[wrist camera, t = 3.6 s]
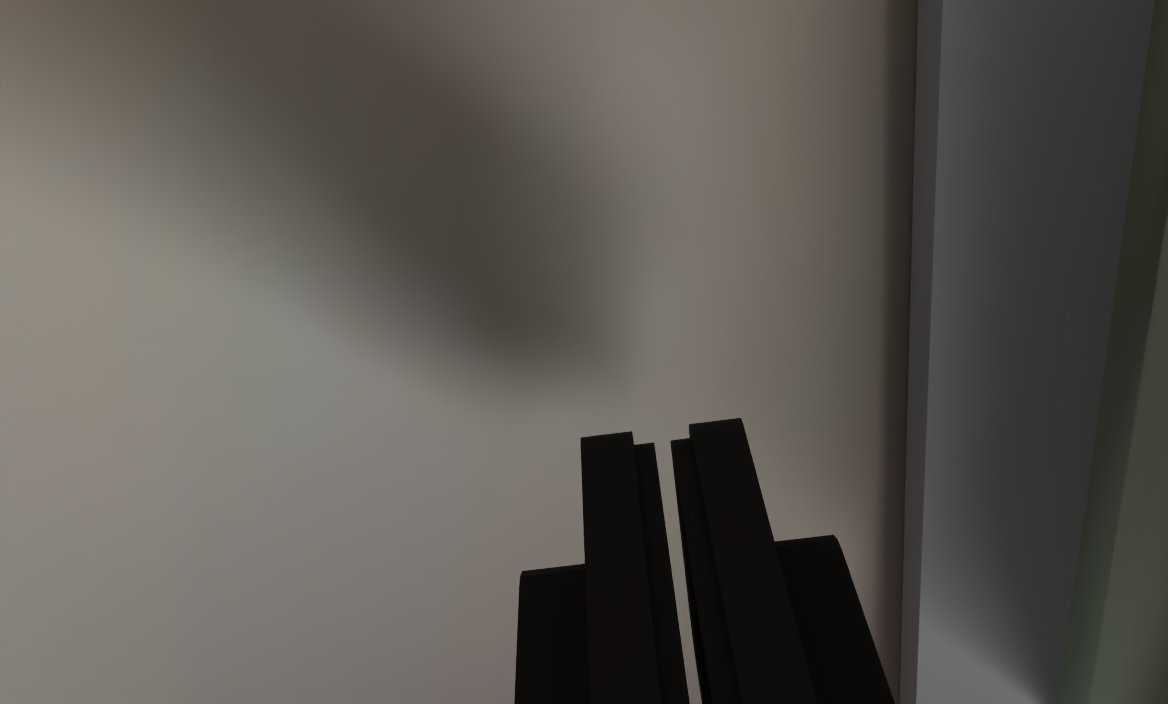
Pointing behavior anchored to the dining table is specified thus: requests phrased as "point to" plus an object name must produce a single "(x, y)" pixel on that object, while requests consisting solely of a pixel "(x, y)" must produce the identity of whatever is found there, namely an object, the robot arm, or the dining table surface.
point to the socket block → (1131, 444)
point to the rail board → (1009, 328)
